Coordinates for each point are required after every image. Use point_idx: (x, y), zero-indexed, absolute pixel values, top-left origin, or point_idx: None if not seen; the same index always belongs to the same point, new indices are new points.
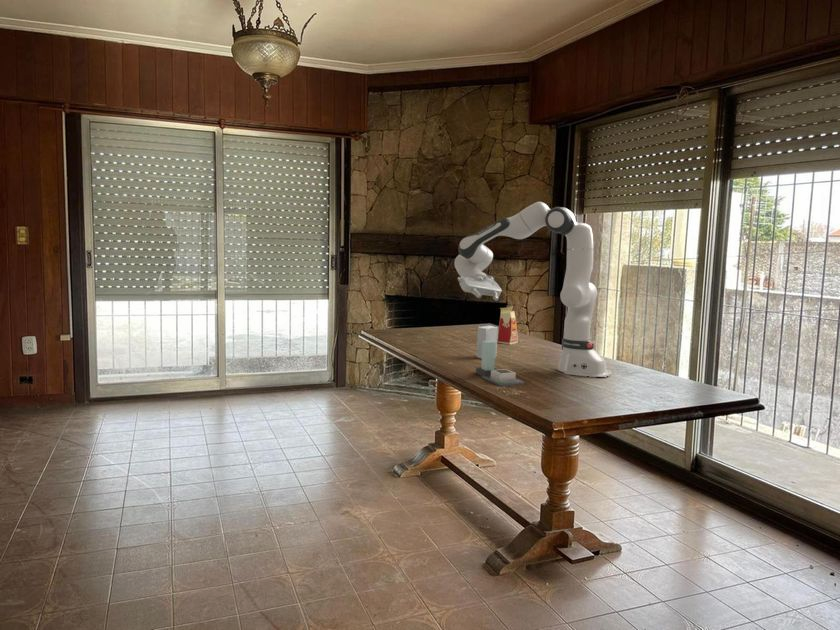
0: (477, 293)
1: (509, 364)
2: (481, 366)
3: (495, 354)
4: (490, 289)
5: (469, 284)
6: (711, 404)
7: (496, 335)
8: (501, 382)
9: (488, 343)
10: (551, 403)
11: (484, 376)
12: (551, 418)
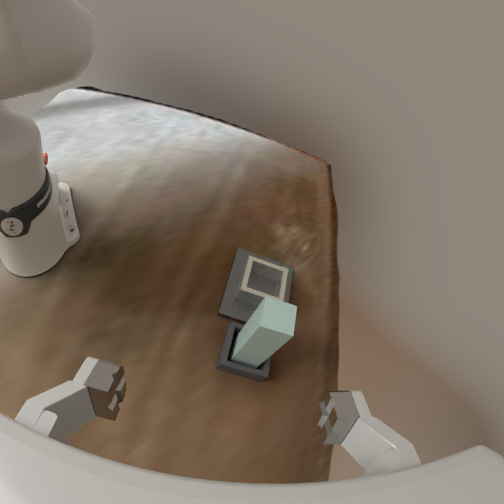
0: (365, 417)
1: None
2: (261, 362)
3: None
4: (105, 459)
5: (480, 461)
6: (125, 96)
7: None
8: (287, 268)
9: (291, 306)
10: (283, 181)
11: None
12: (321, 167)
